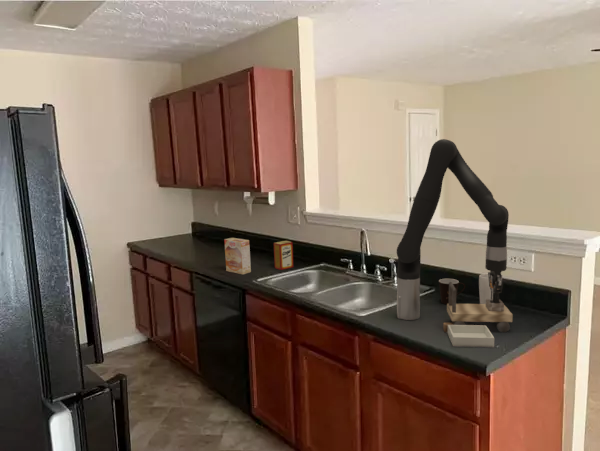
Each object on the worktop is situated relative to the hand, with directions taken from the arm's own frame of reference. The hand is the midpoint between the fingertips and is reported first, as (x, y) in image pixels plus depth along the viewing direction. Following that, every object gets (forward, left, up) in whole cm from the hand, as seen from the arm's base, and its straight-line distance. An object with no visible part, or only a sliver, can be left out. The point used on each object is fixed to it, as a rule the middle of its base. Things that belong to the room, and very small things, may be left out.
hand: (494, 300), depth 187 cm
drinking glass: (+2, +20, -11) cm, 23 cm away
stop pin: (0, 0, -3) cm, 3 cm away
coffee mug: (-11, +29, -11) cm, 33 cm away
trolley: (-6, 0, -11) cm, 12 cm away
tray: (-12, -14, -11) cm, 21 cm away
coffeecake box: (-125, +84, -11) cm, 151 cm away
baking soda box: (-99, +93, -11) cm, 136 cm away
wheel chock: (-18, -5, -11) cm, 22 cm away
